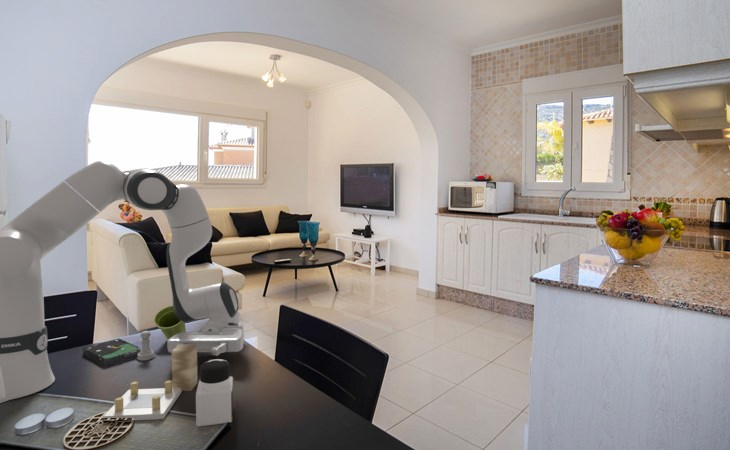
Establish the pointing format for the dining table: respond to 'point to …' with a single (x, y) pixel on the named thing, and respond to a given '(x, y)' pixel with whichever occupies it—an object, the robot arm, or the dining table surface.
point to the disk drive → (111, 352)
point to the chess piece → (145, 347)
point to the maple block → (184, 367)
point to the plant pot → (169, 322)
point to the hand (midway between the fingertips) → (196, 353)
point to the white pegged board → (144, 402)
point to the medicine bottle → (214, 394)
